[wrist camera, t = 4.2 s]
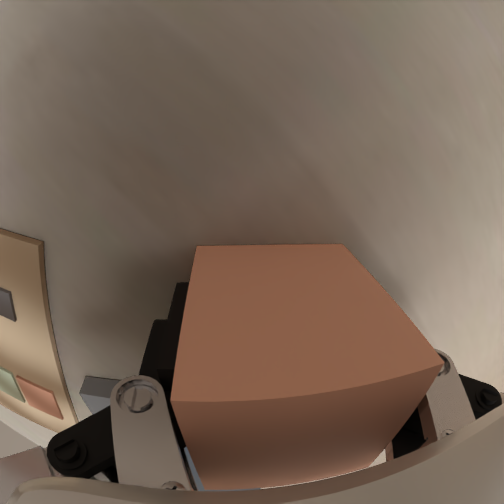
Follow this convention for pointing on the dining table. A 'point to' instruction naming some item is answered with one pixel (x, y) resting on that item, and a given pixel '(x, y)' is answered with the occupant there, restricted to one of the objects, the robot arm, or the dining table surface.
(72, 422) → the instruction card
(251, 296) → the terracotta brick
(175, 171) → the dining table surface
